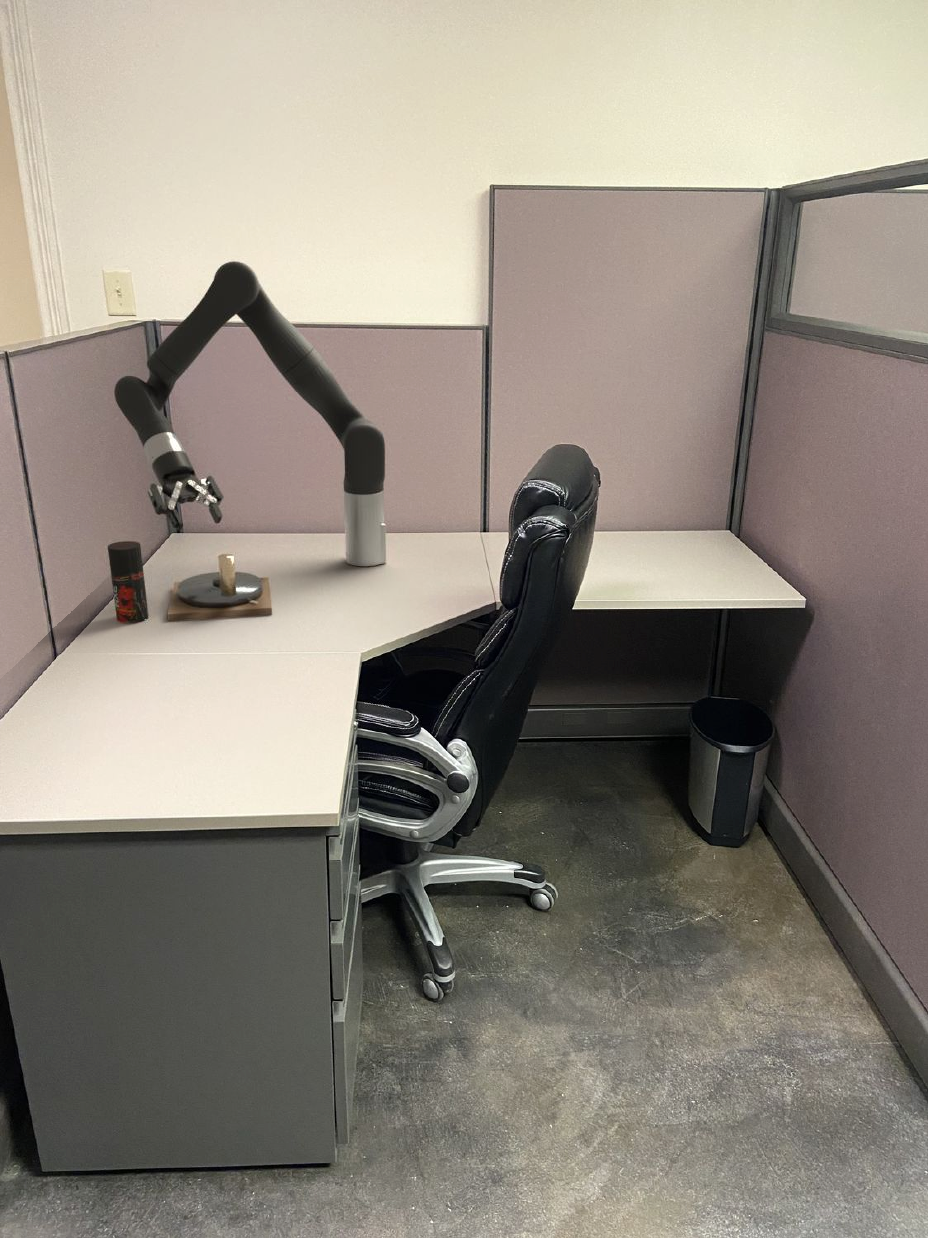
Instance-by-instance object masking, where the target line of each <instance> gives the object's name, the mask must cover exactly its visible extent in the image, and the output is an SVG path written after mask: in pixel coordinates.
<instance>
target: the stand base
mask: <svg viewBox="0 0 928 1238" xmlns="http://www.w3.org/2000/svg"><path fill="white" fill-rule="evenodd" d="M259 578H260V579H261V580H262V586H263V593H262V594H261V596H259V597H258V598H256V599H254V600H252V601H250V602H247V603H243V604H239V605H233V606H226V607H200V606H194V605H189V604H186V603H184V602H182V601H181V600H180V599H179V595H178V585H179V584H180V583H181V582H182V581H174V582H173V587H172V591H171V597H170V601H169V607H168V612H167V618H168V622H178V621H180V622H181V621H194V620H211V619H227V618H241V617H243V618H244V617H256V616H259V617H260V616H269V615H270V616H272V615H273V608H272V597H271V588H270V587H271V586H270V577H269V576H268V577H264V576H263V577H259Z"/></svg>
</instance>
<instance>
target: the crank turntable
mask: <svg viewBox="0 0 928 1238" xmlns="http://www.w3.org/2000/svg"><path fill="white" fill-rule="evenodd" d="M217 559H218V570H219V571H214V572H207V573H202V574H201V573H200V574H197V575H193V576H190V577H188V578H186V579H183V580H182V581H180V582H181V583H180V584H179V585H178V595H179V599H180V600H181V601H182V602H184V603H186V604H189V605H194V606H200V607H226V606H233V605H239V604H243V603H247V602H250V601H252V600H254V599H256V598H258V597H259V596H261V594H262V593H263V586H262V580H261V579H260V578H261V577H259V576H257V575H255V574H252V573H247V572H241V571H236V567H235V555H234V554H231V553H223V554H219V555H218V556H217Z"/></svg>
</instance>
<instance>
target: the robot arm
mask: <svg viewBox="0 0 928 1238" xmlns="http://www.w3.org/2000/svg"><path fill="white" fill-rule="evenodd" d="M235 316H237V317H238V318H239V319H240V320H241V321H242V322H243V323H244V324H245V325H246V326H247V327H248V328H249V329H250V331H251V332H252V334H253V335H254V336H255V337H256V339H257V340H258V342H259V344H260V345H261V347H262V349H263V350H264V352H265V354H266V355H267V356H268V358H269V360H270V361H271V362H272V363H273V365H274V366H275V368H276V369H277V371H278V372H279V373H280V374H281V375H282V377H283V378H284V379H285V380H286V382H287V383H288V384H289V385H290V386H291V387H292V389H293V390H294V391H295V392H296V393H297V394H298V395H299V396H300V397H301V398H302V399H303V400H304V401H305V403H307V404H308V405H309V406H310V407H311V408H313V410H315V411H316V412H317V413H318V414H319V415H320V417H322V419H324V421H325V423H326V424H327V425H328V427H329V428H330V430H331V431H332V432H333V434H334V435H335V436H336V438H337V440H338V442H339V443H340V445H341V447H342V449H343V451H344V453H343V454H344V456H343V457H344V478H343V502H344V503H343V504H344V505H343V506H344V507H343V509H344V510H343V511H344V537H345V540H344V542H345V543H344V544H345V562H346V563H347V564H348V565H351V566H354V567H355V566H357V567H373V566H378V565H381V564H387V539H386V538H387V534H386V532H387V531H386V530H387V529H386V523H385V509H384V508H385V505H384V504H385V503H384V501H385V500H384V485H385V484H384V483H385V478H386V477H385V476H386V443H385V439H384V438H385V437H384V435H383V432H382V431H381V430H380V428H379V427H378V426H376V424H374V422H372V421H371V420H369V418H367V417H366V415H364V414H363V412H361V411H360V410H359V409H358V407H356V405H355V404H354V403H353V402H352V400H350V399H349V397H348V396H347V395H346V393H345V392H344V390H343V388H342V387H341V385H340V383H339V381H338V380H337V378H336V376H335V375H334V372H332V370H331V369H330V367H329V366H328V364H327V363H326V362H325V360H324V359H323V357H322V356H321V355H320V353H318V351H317V350H316V348H314V346H313V344H311V343H310V341H309V340H308V339H307V338H306V337H305V336H304V335H303V334H302V333H301V331H299V329H298V328H297V327H295V326H294V325H293V324H292V322H290V321H289V320H288V319H287V318H286V317H285V316H284V315H283V314H282V313H281V312H280V310H279V309H278V308H277V307H276V306H275V304H274V303H273V301H272V300H271V298H270V297H269V296H268V294H267V293H266V292H265V290H264V289H263V286H262V285H261V283H260V282H259V279H258V276H257V274H256V272H255V271H254V269H253V268H252V267H250V266H249V265H247V263H244V262H240V261H233V260H232V261H228V262H225V263H223V264H222V265H221V266H219V267H218V268H217V270H216V272H215V273H214V277H213V281H212V282H211V284H210V286H209V287H208V289H207V291H206V292H205V294H204V296H203V297H202V299H201V300H200V301H199V303H198V304H197V305H196V307H194V309H193V310H192V311H191V312H190V313H189V315H188V316H187V317H186V318H185V319H183V320H182V321H181V322H180V323H179V325H177V326H176V327H175V329H173V330H172V332H171V333H169V334H168V336H167V337H165V339H164V340H163V341H162V342H161V343H160V344H159V346H158V347H157V348H156V349H155V350H154V351H153V353H152V354H151V355H150V356H149V358H148V359H147V361H146V366H147V369H148V370H149V371H150V375H149V377H148V379H147V381H144V380H143V379H141V378H139V377H137V376H134V375H125V376H122V377H120V379H118V381H116V383H115V386H114V392H113V393H114V399H115V402H116V404H117V406H118V408H119V410H120V411H121V413H122V414H123V415H124V417H125V418H126V420H127V422H128V423H129V424H130V425H131V426H132V427H133V429H134V430H135V432H136V434H137V436H138V438H139V440H140V442H141V445H142V447H143V449H144V451H145V454H146V458H147V460H148V463H149V465H150V467H151V468H152V471H153V473H154V474H155V477H156V479H157V481H158V483H159V485H157V484H156V483H151V484H150V486H149V489H148V490H147V494H148V497H149V499H150V502H151V504H152V507H153V509H154V512H155V514H156V515H158V516H159V515H166V516H167V517H168V519H169V522H170V524H171V526H172V527H173V528H174V529H176V531H181V530H182V529H183V527H184V523H183V521H182V518H181V516H180V514H179V512H178V510H177V509H175V507H176V504H177V503H179V504H185V503H194V502H196V503H198V504H199V505H204V506H206V508H208V511H209V513H210V515H211V517H212V519H213V521H214V523H215V524H220V523H221V521H222V518H223V513H222V511H221V509H220V507H219V506H220V505H221V503H222V501H223V500H224V494H223V493H222V491H221V489H220V488H219V486H218V484H217V482H216V481H215V479H214V477H213V476H211V475H207V477H206V478H204V479H200V478H199V477H198V476H197V475H196V471H195V469H194V466H193V465H192V462H191V461H190V459H189V458H190V457H189V456H188V454H187V452H186V451H185V449H184V446H183V445H182V442H181V441H180V440H179V438H178V436H177V435H176V433H175V431H174V428H173V427H172V425H171V423H170V421H169V419H168V418H167V416H165V415H164V414H163V413H162V412H161V411H162V410H163V408H164V407H165V405H166V404H167V401H168V399H169V398H170V396H171V393H172V391H173V389H174V388H175V387H174V386H175V385H176V383H177V381H178V379H180V377H182V375H183V374H185V372H186V371H187V370H188V368H189V367H190V366H191V365H192V364H193V362H194V361H195V360H196V359H197V357H199V355H200V354H201V353H202V351H203V350H204V349H205V347H206V346H207V345H208V343H209V342H210V341H211V340H212V339H213V337H214V336H215V335H216V334H217V333H218V332H219V331H220V329H221V328H223V327H224V326H225V324H226V323H228V322H229V320H231V319H232V318H233V317H235ZM162 494H163V495H165V496H167V498H169V500H168V504H167V505H166V504H164V501H163V498H162V496H161V495H162ZM199 495H200V496H199Z"/></svg>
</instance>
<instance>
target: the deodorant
mask: <svg viewBox="0 0 928 1238" xmlns="http://www.w3.org/2000/svg"><path fill="white" fill-rule="evenodd" d="M141 547H142V546H141V543H140V542H138V541H132V540H131V541H129V540H125V541H124V540H123V541H117V542H116V541H115V542H113V543H110V544H108V545H107V552H108V561H109V567H110V568H109V569H110V575H111V577H110V578H111V584H112V592H113V598H114V608H115V614H116V615H115V617H116V621H117V622H118V623H119V624H127V625H128V624H129V625H131V624H138V622H139V623H141V622H145V621H146V620H145V619H147V620H148V619H149V617H148V616H149V609H148V601H147V591H146V585H145V584H146V583H145V581H146V580H145V575H144V574H145V573H144V567H143V557H142V556H143V555H142V548H141ZM144 620H145V621H144Z"/></svg>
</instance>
